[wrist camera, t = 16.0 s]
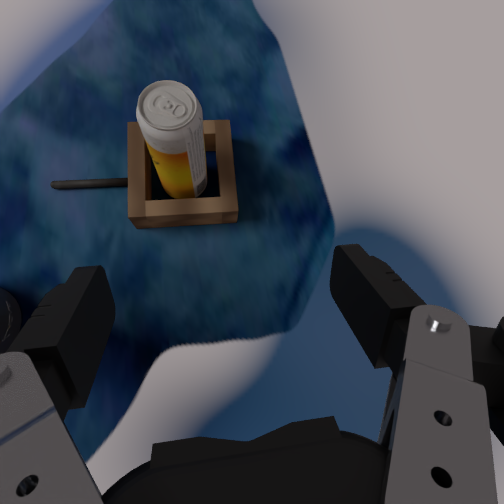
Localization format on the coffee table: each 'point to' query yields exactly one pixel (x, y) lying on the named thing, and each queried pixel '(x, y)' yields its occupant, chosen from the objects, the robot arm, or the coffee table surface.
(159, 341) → the coffee table surface
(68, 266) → the coffee table surface
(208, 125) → the walnut collar
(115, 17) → the coffee table surface
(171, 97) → the soda can
